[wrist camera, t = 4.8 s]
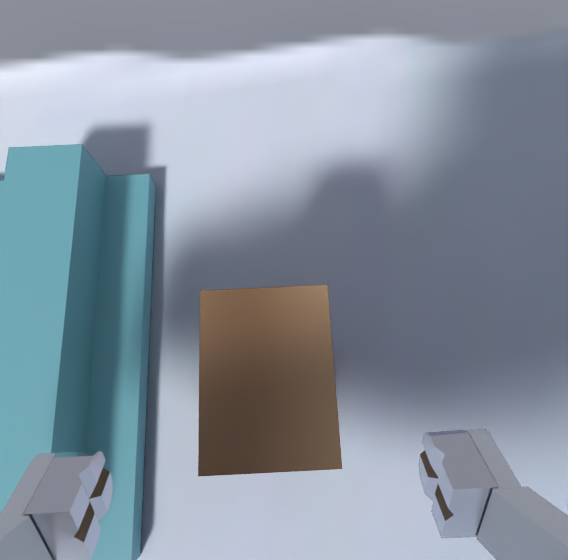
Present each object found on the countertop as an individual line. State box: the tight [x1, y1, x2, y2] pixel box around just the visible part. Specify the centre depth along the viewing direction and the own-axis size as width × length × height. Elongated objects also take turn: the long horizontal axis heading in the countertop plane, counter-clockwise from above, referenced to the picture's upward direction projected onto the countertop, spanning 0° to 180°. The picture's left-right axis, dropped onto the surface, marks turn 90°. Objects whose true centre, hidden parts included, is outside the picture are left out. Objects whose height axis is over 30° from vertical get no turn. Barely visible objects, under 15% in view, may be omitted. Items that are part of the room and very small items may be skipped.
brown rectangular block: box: [198, 285, 342, 476], centre depth 14 cm, size 3×4×9 cm
